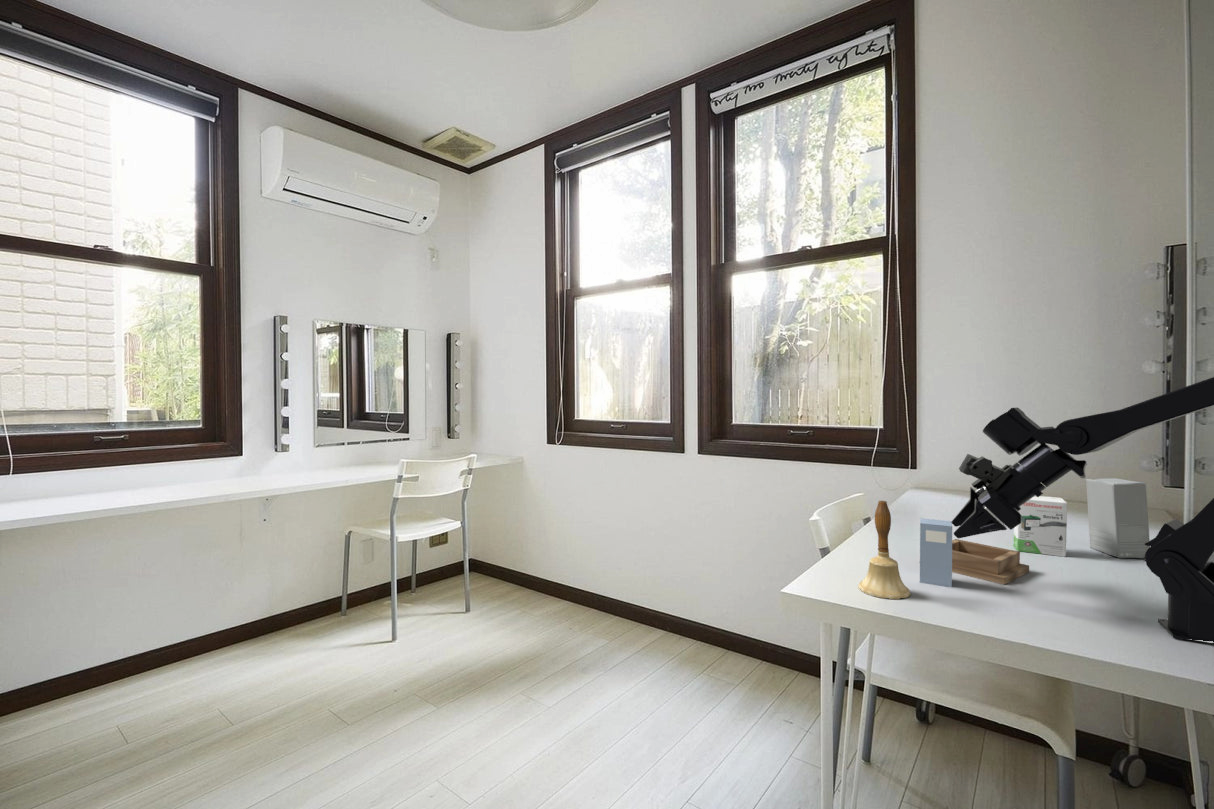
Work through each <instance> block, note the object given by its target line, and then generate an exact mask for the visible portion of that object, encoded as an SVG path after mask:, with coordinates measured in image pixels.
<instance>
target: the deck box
mask: <svg viewBox="0 0 1214 809" xmlns="http://www.w3.org/2000/svg"><path fill="white" fill-rule="evenodd" d="M919 519H920V522H919V524H920V525H919V583H923V584H929V585H934V586H935V585H936V586H943V587H949V588H952V587H953V586H952V585H953V583H952V582H953V579H952V578H953V572H952V540H953V524H952V520H944V519H933V518H932V519H931V518H926V517H924V518H923V517H920V518H919Z"/></svg>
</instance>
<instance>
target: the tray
mask: <svg viewBox="0 0 1214 809" xmlns="http://www.w3.org/2000/svg"><path fill="white" fill-rule="evenodd" d="M1020 555H1021V551H1017V550H1013V549H1007V548H1003V547H997V546H993V545H987V544H982V543H978V542H972V541H968V540H963V539H959V538H955V539H952V573H955V574H960V575H964V576H968V577H972V578H975V579H981V580H983V581H987V582H992V583H997V584H1000V585H1007V584H1008V583H1010V582H1013V581H1015V579H1017V578H1019V577H1022V576H1024V575H1025V574H1028V573H1029V572H1030V565H1029V564H1024V563H1021V562H1020V560H1021V558H1020V557H1021V556H1020Z"/></svg>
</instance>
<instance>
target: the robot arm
mask: <svg viewBox="0 0 1214 809" xmlns="http://www.w3.org/2000/svg"><path fill="white" fill-rule="evenodd" d="M1212 407H1213V408H1214V376H1213V377H1210V378H1207V379H1204V380H1201V381H1199V382H1195V383H1192V384H1190V385H1186V386H1183V387H1181V388H1179V389H1175V390H1171V391H1170V392H1167V393H1164V394H1161V395H1159V396H1158V395H1157V396H1155V397H1152V398H1149V399H1147V400H1144V401H1141V402H1138V403H1135V404H1132V405H1129V406H1127V407H1124V408H1121V409H1117V410H1113V411H1107V412H1103V413H1097V414H1091V415H1086V416H1085V415H1084V416H1080V417H1077V418H1076V417H1075V418H1070V419H1067V420H1064V421H1062V422H1060V423H1059V424H1058V425H1057V426H1056V427H1053V426H1044V427H1041V426H1040V425H1038V424H1037V423H1036V422H1035V421H1034V420H1033V419H1031V418H1029V417H1028V416H1027V414H1025V412H1024V411H1023V410H1022V409H1021V408H1019V407H1011V408H1010V409H1009V410H1008V411H1006V412H1003V413H1002V414H1001V415H999V416H997V417H996V418H994V419H992V420H990V421H989V422H987V424H986V425H985V426H984V428H983V429H982V433H983V434H984V436H986V437H987V438H989V439H990V440H991V441H992V442H994V443H995V444H996V446H998V447H999V448H1001V450H1002V451H1004V452H1005V453H1006V454H1007V455H1009V456H1010V455H1014V454H1017V455H1018V456H1022V455H1024V454H1026V455H1025V456H1023V457H1022V458H1021V459H1019V460H1018V461H1016V462H1014V464H1005V465H1004V466H1003V467H1002V468H1000V467H998V466H996V465H995V464H993V461H992V460H991V459H989V458H986V457H984V456H982V455H981V456H980V457H976V456H975V455H972V454H969V453H967V454H966V456H965V457H964V459H963V461H962V462H961V464H960V466H959V467H958V469H959V472H961V473H963V474H965V475H967V476H972V477H974V478H975V479H976V480H974V481H973V482H972V483H971V486H970V487H969V499H968V501H966V503H965V504H964V506H963V507H962V508H961V509H960V511H959V512H958V513H957V514H956V515H955V517H954V518H953V519H952V520H951V522H952V526H954V527H957V528H956V529H955V531H954V532H953V536H954V537H956V539H963V538H968V537H973V536H978V535H982V534H988V533H993V532H1000V531H1007V530H1008V529H1009V530H1014V527H1016V526H1017V525H1019V524H1020V523H1021V514H1020V513H1019V510H1020V509H1021V508H1020V506H1021V505H1022V504H1024V503H1025V502H1027V501H1028V500H1030V499H1031V498H1032V497H1034V496H1037V497H1039V496H1043V494H1044V493H1043V491H1044V490H1045V489H1046V488H1048V487H1050V486H1051V485H1052V484H1054V483H1055V482H1057V481H1058V480H1060V479H1061V478H1062V477H1064V476H1066V475H1067V474H1068V473H1070V472H1071V471H1072V472H1073V473H1074V474H1075V475H1077V477H1078V478H1080V479H1085V478H1086V467H1087V465H1088V462H1087V461H1086V460H1084V459H1083V460H1082V459H1081V460H1080V459H1078V460H1077V459H1076V458H1074V457H1073V456H1072V455H1074V456H1078V455H1087V454H1091V453H1096V452H1099V451H1101V450H1103V449H1105V448H1108V447H1109V446H1112V445H1113V444H1116V443H1118V442H1120V441H1121V440H1123V439H1125V438H1127V437H1129V436H1130V435H1132V434H1135V433H1136V432H1139V431H1140V430H1144V429H1147V428H1149V427H1150V428H1151V427H1153V426H1156V425H1159V424H1163V423H1166V422H1168V421H1171V420H1175V419H1178V418H1181V417H1185V416H1187V415H1191V414H1193V413H1197V412H1200V411H1204V410H1206V409H1210V408H1212ZM1038 444H1039V445H1038ZM1037 445H1038V446H1037ZM1049 445H1052V446H1057V447H1058V448H1056V449H1055V450H1054V449H1053V448H1051V447H1050V446H1049ZM1036 446H1037V447H1036ZM1034 447H1036V448H1034ZM1033 448H1034V449H1033ZM1030 450H1031V451H1030ZM1028 452H1029V453H1028ZM1145 545H1146V546H1150V548H1149V549H1148V550H1147V551H1146V553H1145V557H1144V558H1143V559H1144V560H1145V564H1146V566H1147V568H1148V569H1149V571H1150V572H1151V573H1152V574H1154V575H1155V576H1156V577H1157V578H1159V580H1160V582H1161V584H1162V587H1163V589H1164V591H1165V593H1166V594H1167V597H1168V598H1167V619H1165V618H1157V623H1158V624H1159V625H1160V626H1161V627H1162V628H1163V629H1164V630H1166V632H1167V633H1168V634H1169V635H1170V636H1171V637H1172V636H1173V637H1172V638H1174V637H1175V638H1174V639H1178V638H1180V639H1179V640H1184V639H1192V640H1203V641H1213V642H1214V497H1213V498H1212V499H1211V500H1210V501H1209V502H1208V503H1207V504H1206V505H1205V506H1204V507H1203V508H1202V509H1200V511H1199V512H1198V513H1197V514H1196V515H1195V516H1194V517H1193V518H1192V519H1191V520H1189V521H1188V522H1186V523H1183V522H1182V521H1180V519H1178V518H1174V519H1172V520H1169V521H1167V522H1166V523H1164V524H1163V525H1162V526H1161V528H1160V530H1159V531H1158V533H1157V535H1156V536H1155V537H1154V538H1152V539H1150V541H1148V542H1146V543H1145ZM1181 638H1182V639H1181Z"/></svg>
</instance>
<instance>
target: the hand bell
mask: <svg viewBox="0 0 1214 809" xmlns="http://www.w3.org/2000/svg"><path fill="white" fill-rule="evenodd" d="M876 506H877V507H876V508H875V512H874V525H875V530H876V532H877V538H878V539H877V542H878V543H877V546H878V548H877V550H878V552H877V553H878V554H877V556H874V557H872V558H870V559H869V564H868V570H867V574H866V575H865V577H864V579H863V580H862V581H860V582H859V583H858V584H857V588H858V590H859V589H860V590H861V591H860V590H859V591H860V592H862V593H863V592H864V593H863V594H865V593H866V594H865V595H868V594H869V595H868V596H870V595H873V596H872V597H874V596H876V597H875V598H878V597H881V598H880V599H884V598H889V599H888V600H901V599H900V598H904V599H907V598H909V597H910V596H911V591H910V589H909V588H908V587H907V586H906V585H905V584H904V582H903V580H902V578H901V577H902V576H901V574H900V570H899V563H898V562H897V560H895V559H894V558H893V557H890V552H889V551H890V549H889V534H890V531H891V526H892V517H891V512H890V508H889V506H888V502H887V501H886V500H878V502H877V505H876Z"/></svg>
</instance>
